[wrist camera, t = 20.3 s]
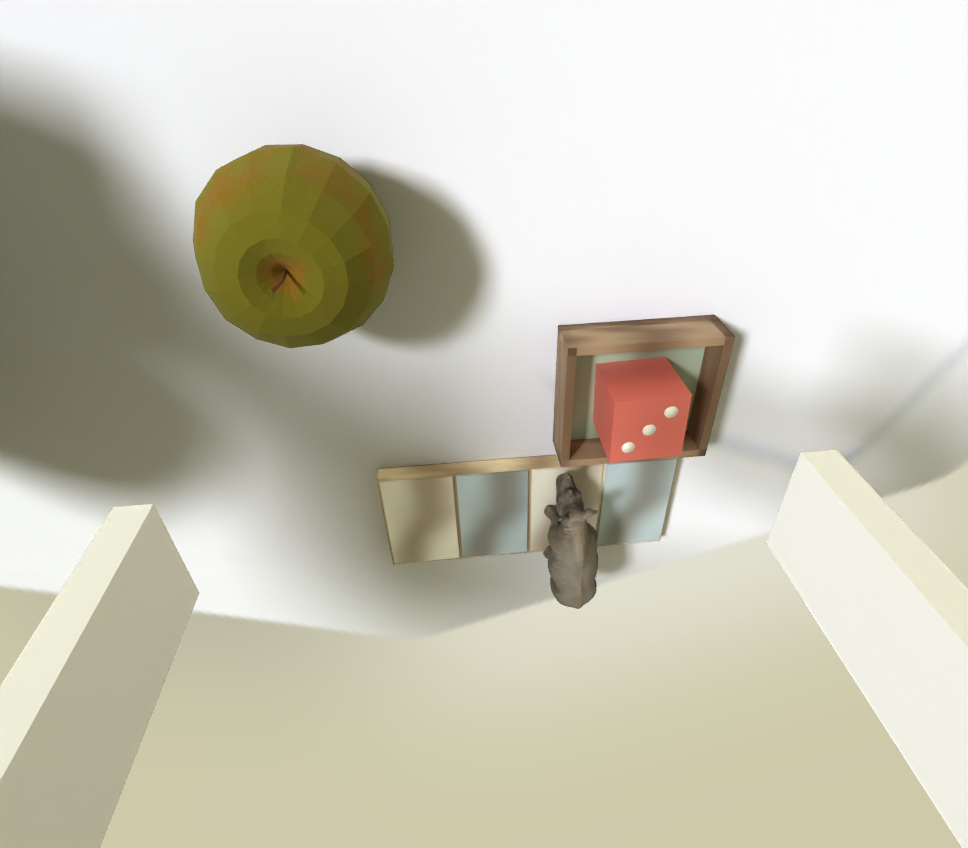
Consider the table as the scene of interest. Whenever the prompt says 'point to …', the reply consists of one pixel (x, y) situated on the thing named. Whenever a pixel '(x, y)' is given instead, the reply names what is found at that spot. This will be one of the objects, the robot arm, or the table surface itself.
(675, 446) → the die
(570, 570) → the rhino figurine
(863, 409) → the table surface
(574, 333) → the dice tray
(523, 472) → the board
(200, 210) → the apple
